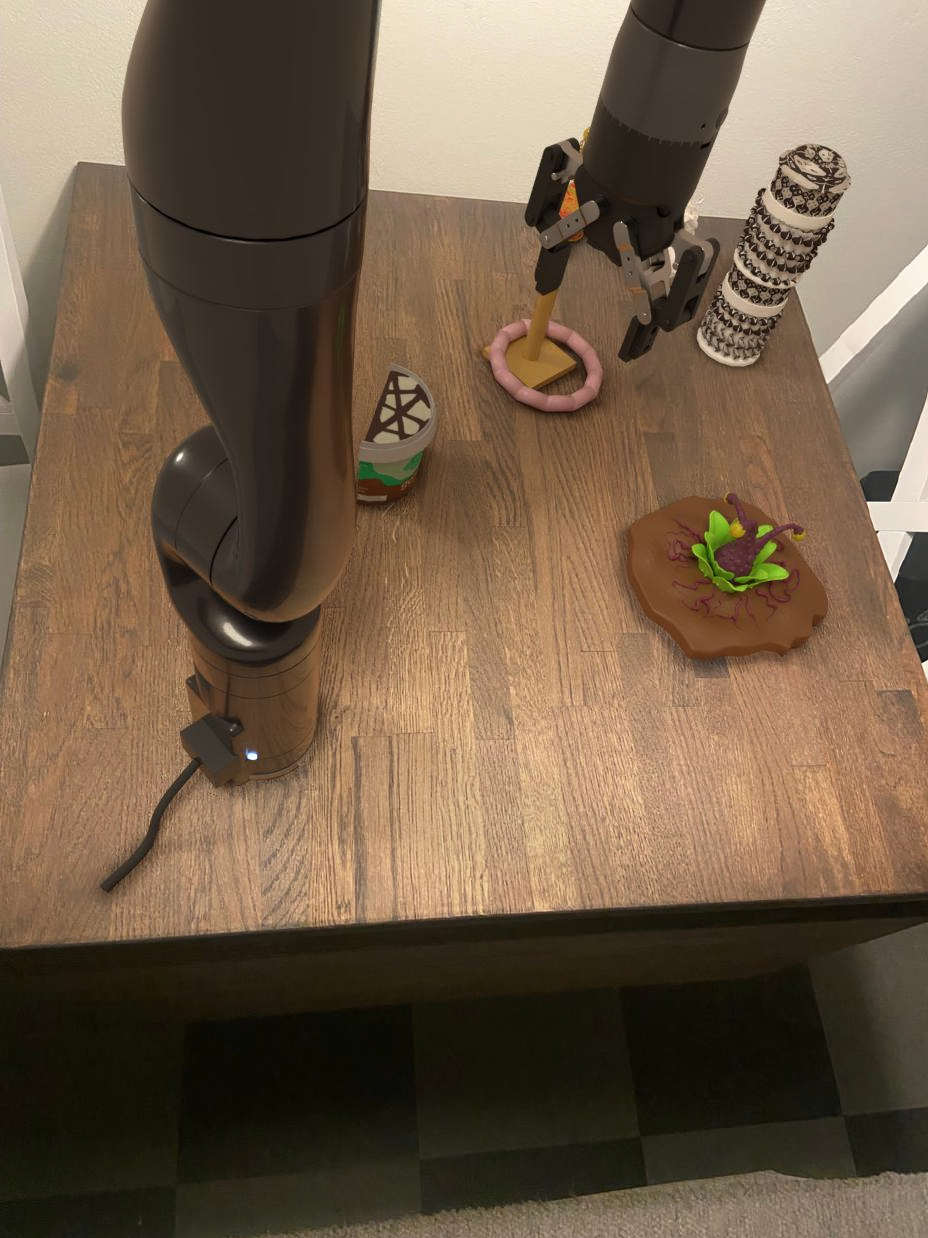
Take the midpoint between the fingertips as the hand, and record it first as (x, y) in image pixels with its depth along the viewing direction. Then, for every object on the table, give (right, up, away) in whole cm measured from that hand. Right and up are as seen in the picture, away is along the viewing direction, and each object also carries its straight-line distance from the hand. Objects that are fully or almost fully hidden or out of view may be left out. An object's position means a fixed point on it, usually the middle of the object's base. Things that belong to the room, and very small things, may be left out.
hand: (587, 322), depth 68 cm
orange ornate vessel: (+4, +30, +57) cm, 64 cm away
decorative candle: (+25, +13, +50) cm, 57 cm away
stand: (-1, +9, +42) cm, 42 cm away
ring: (+1, +8, +40) cm, 40 cm away
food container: (-16, -7, +28) cm, 34 cm away
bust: (+18, +25, +56) cm, 64 cm away
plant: (+17, -18, +28) cm, 37 cm away
